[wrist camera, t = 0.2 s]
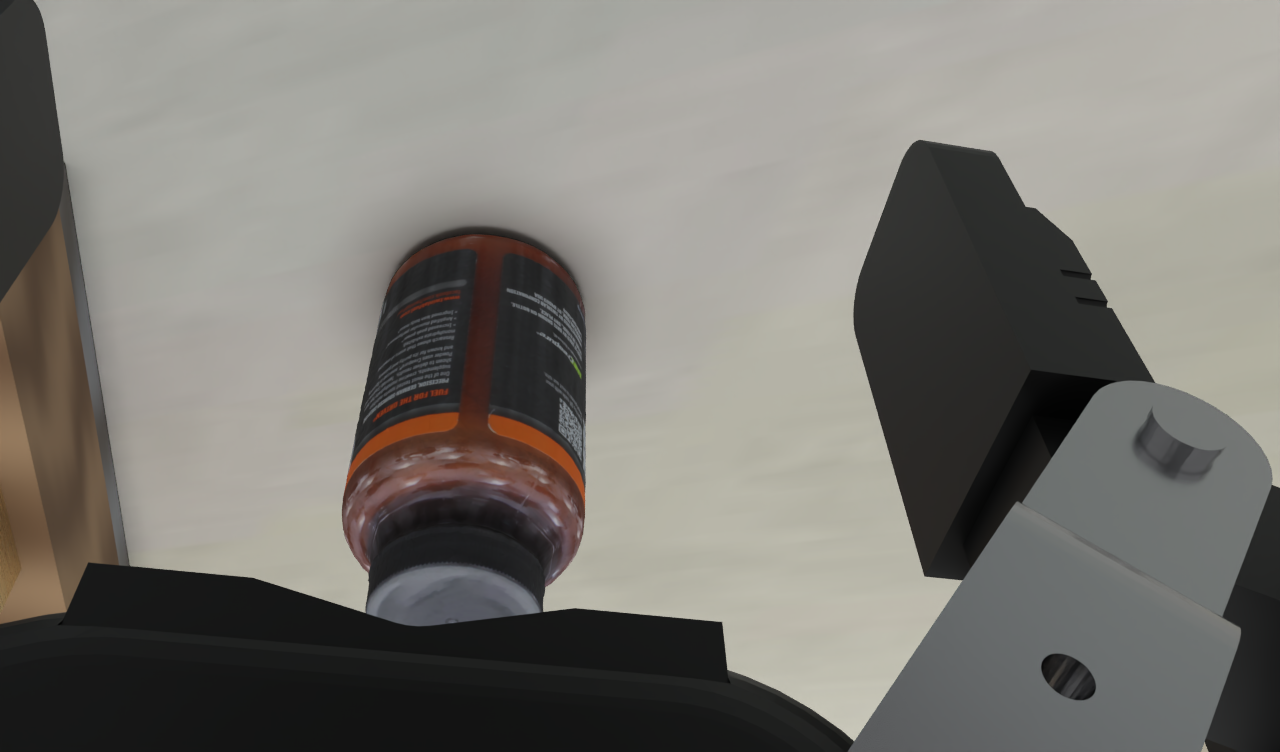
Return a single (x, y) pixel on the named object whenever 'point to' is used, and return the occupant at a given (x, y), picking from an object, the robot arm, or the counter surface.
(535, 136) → the counter surface
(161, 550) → the counter surface
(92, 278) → the counter surface
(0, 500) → the brushed brass block
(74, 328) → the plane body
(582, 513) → the supplement bottle
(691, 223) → the counter surface
